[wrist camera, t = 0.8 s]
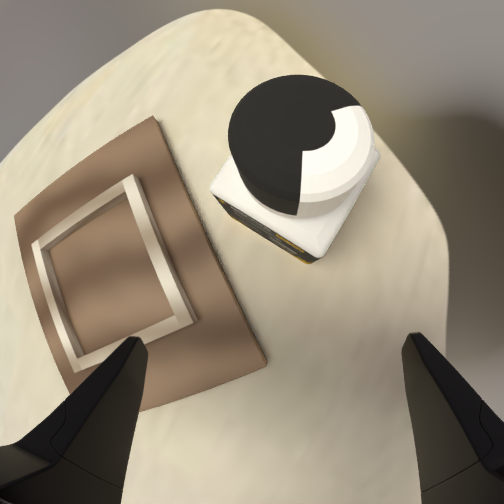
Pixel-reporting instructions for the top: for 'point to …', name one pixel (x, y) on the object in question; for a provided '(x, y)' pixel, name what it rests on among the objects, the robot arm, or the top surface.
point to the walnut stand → (132, 272)
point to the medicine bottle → (296, 162)
